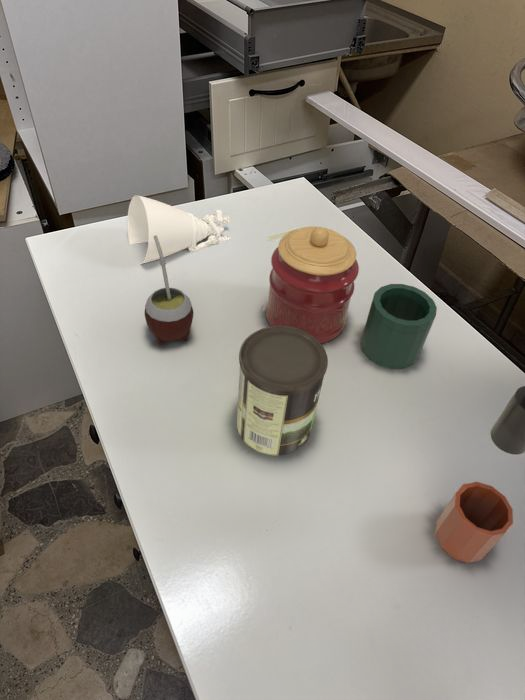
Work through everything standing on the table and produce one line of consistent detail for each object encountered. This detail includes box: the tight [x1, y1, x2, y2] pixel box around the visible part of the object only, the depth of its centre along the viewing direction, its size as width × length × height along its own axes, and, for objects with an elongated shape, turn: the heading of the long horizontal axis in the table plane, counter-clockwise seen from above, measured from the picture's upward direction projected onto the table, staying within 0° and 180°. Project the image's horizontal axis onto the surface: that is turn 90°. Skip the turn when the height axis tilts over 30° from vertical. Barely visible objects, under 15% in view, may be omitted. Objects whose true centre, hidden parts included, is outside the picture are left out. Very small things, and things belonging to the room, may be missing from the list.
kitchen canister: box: [265, 225, 360, 344], centre depth 79 cm, size 13×13×18 cm
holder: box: [434, 481, 514, 564], centre depth 58 cm, size 6×6×8 cm
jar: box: [359, 283, 438, 370], centre depth 79 cm, size 9×9×10 cm
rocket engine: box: [126, 195, 232, 265], centre depth 95 cm, size 12×12×18 cm
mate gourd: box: [144, 236, 194, 346], centre depth 76 cm, size 8×8×15 cm
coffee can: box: [236, 326, 329, 456], centre depth 66 cm, size 10×10×14 cm
